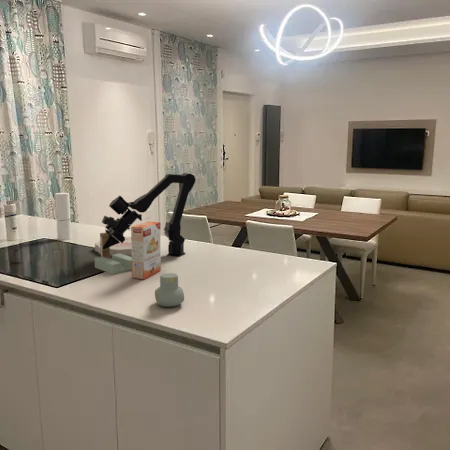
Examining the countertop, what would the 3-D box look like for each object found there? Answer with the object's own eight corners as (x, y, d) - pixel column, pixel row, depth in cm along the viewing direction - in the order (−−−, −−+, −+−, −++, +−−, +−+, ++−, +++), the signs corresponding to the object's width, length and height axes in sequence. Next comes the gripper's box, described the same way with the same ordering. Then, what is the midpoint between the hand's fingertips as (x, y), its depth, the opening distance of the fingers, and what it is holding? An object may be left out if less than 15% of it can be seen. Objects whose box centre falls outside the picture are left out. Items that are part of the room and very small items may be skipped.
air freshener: (153, 300, 154) (153, 272, 153) (177, 297, 157) (177, 269, 155) (160, 311, 144) (160, 281, 143) (185, 308, 147) (185, 278, 145)
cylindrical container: (66, 236, 254) (63, 192, 250) (74, 238, 250) (71, 193, 246) (55, 238, 249) (52, 193, 244) (63, 240, 245) (60, 194, 240)
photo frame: (110, 262, 201) (109, 235, 199) (103, 263, 200) (101, 235, 198) (107, 259, 207) (106, 232, 204) (101, 260, 206) (99, 233, 203)
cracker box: (144, 280, 176) (143, 227, 173) (131, 278, 178) (129, 226, 175) (161, 270, 189) (161, 221, 185) (149, 269, 191) (148, 220, 188)
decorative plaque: (85, 248, 213) (108, 235, 243) (86, 255, 214) (108, 242, 243) (148, 250, 210) (163, 237, 240) (148, 258, 211) (163, 243, 240)
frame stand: (94, 267, 193) (94, 258, 193) (119, 262, 202) (119, 253, 201) (113, 274, 184) (112, 264, 183) (138, 268, 193) (138, 259, 192)
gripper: (109, 206, 209) (85, 231, 207) (116, 212, 192) (90, 239, 190) (126, 222, 214) (103, 247, 211) (135, 229, 197) (110, 256, 195)
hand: (101, 247), depth 202 cm, fingers closed on photo frame, 6 cm apart
